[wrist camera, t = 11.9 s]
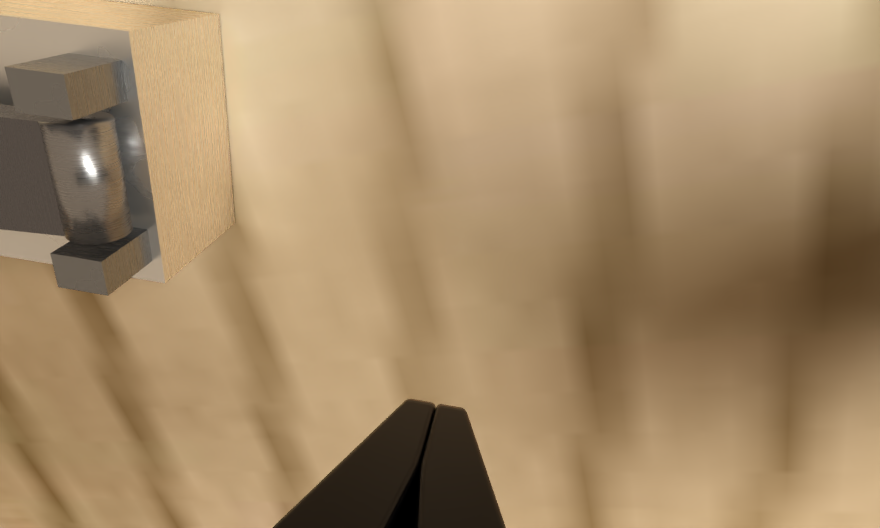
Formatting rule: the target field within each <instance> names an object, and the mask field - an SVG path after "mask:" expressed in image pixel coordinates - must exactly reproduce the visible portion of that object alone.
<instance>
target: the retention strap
mask: <svg viewBox="0 0 880 528" xmlns="http://www.w3.org/2000/svg"><path fill="white" fill-rule="evenodd" d="M0 229H2V230H11V231H20V232H30V233H39V234H48V235H57V236H65V238H66V239H67V240H69V241H71V242H74V243H78V244H102V243H108V242H112V241H116V240H119V239H121V238H123V237H125V236H127V235H128V234H130V233H131V231H132V229H133V226H132V220H131V214H130V208H129V202H128V196H127V190H126V184H125V178H124V172H123V166H122V160H121V154H120V148H119V142H118V136H117V130H116V124H115V118H114V116H113V115H112V114H109V113H106V112H102V111H98V112H95V113H93V114H90V115H87V116H84V117H81V118H78V119H76V120H66V119H59V118H52V117H45V116H38V115H31V114H24V113H17V112H15V108H14V106H13V105H4V104H0Z"/></svg>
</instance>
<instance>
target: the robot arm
mask: <svg viewBox="0 0 880 528" xmlns="http://www.w3.org/2000/svg"><path fill="white" fill-rule="evenodd" d="M273 528H506V527H505V524H504V521H503V518H502V515H501V512H500V509H499V506H498V503H497V500H496V498H495V495H494V492H493V489H492V486H491V483H490V480H489V477H488V474H487V471H486V468H485V465H484V462H483V459H482V456H481V453H480V450H479V447H478V444H477V441H476V438H475V435H474V432H473V429H472V426H471V423H470V421H469V418H468V415H467V412H466V411H465V409H463V408H460V407H455V406H449V405H443V404H440V405H438V406H437V407H435V405H434V404H433V403H432V402H427V401H421V400H415V399H408V400H406V401H404V402H403V403H402V404H401V405H400V406H399V407H398V408H397V409H396V410H395V411H394V412H393V413H392V414H391V415H390V416H389V417H388V418H387V419H386V420H385V421H384V422H382V423H381V424H380V425H379V426H378V427H377V428H376V429H375V430H374V431H373V432H372V433H371V434H370V435H369V436H368V437H367V438H366V439H365V440H364V441H363V442H362V443H360V444H359V445H358V446H357V447H356V448H355V449H354V450H353V451H352V452H351V453H350V454H349V455H348V456H347V457H346V458H345V459H344V460H343V461H342V462H341V463H340V464H339V465H337V466H336V467H335V468H334V469H333V470H332V471H331V472H330V473H329V474H328V475H327V476H326V477H325V478H324V479H323V480H322V481H321V482H320V483H319V484H318V485H317V486H316V487H314V488H313V489H312V490H311V491H310V492H309V493H308V494H307V495H306V496H305V497H304V498H303V499H302V500H301V501H300V502H299V503H298V504H297V505H296V506H295V507H294V508H293V509H291V510H290V511H289V512H288V513H287V514H286V515H285V516H284V517H283V518H282V519H281V520H280V521H279V522H278V523H277V524H276V525H275V526H274V527H273Z"/></svg>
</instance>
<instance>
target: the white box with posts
mask: <svg viewBox="0 0 880 528" xmlns="http://www.w3.org/2000/svg"><path fill="white" fill-rule="evenodd" d="M0 104H4V105H13V106H14V108H15V112H17V113H24V114H31V115H38V116H45V117H52V118H59V119H66V120H76V119H78V118H81V117H84V116H87V115H90V114H93V113H95V112H98V111H102V112H106V113H109V114H112V115H113V116H114V118H115V124H116V130H117V136H118V142H119V148H120V154H121V160H122V166H123V172H124V178H125V184H126V190H127V196H128V202H129V208H130V214H131V220H132V226H133V229H132V231H131V233H130V234H128V235H127V236H125V237H123V238H121V239H119V240H116V241H112V242H108V243H102V244H78V243H74V242H71V241H69V240H67V239H66V238H65V236H57V235H48V234H39V233H30V232H20V231H11V230H2V229H0V256H5V257H11V258H17V259H23V260H29V261H35V262H41V263H47V264H53V267H54V271H55V275H56V279H57V284H58V287H61V288H67V289H73V290H78V291H84V292H90V293H96V294H102V295H109V294H111V293H112V292H113V291H115V290H116V289H117V288H118V287H120V286H121V285H122V284H123V283H125V282H126V281H127V280H129V279H130V278H137V279H143V280H149V281H155V282H161V283H166V282H167V281H168V280H170V279H171V278H172V277H173V276H174V275H175V274H176V273H178V272H179V271H180V270H181V269H182V268H183V267H185V266H186V265H187V264H188V263H189V262H190V261H191V260H193V259H194V258H195V257H196V256H197V255H198V254H200V253H201V252H202V251H203V250H204V249H205V248H206V247H208V246H209V245H210V244H211V243H212V242H213V241H215V240H216V239H217V238H218V237H219V236H220V235H221V234H223V233H224V232H225V231H226V230H227V229H228V228H230V227H231V226H232V225H233V224H234V223H235V216H234V203H233V191H232V178H231V165H230V152H229V139H228V126H227V113H226V100H225V87H224V74H223V62H222V49H221V36H220V23H219V14H214V13H205V12H197V11H189V10H181V9H172V8H164V7H156V6H148V5H139V4H131V3H123V2H114V1H106V0H0Z"/></svg>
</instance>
